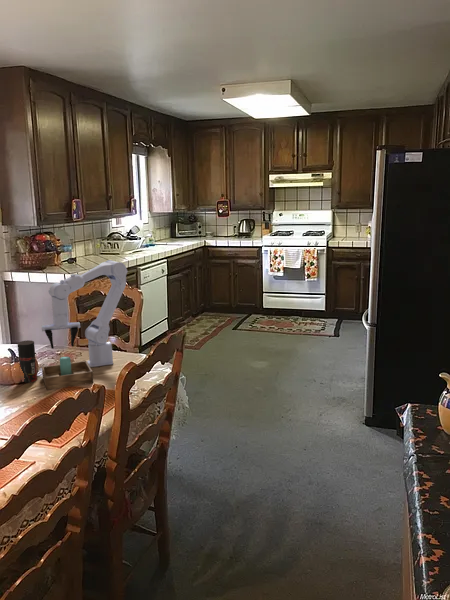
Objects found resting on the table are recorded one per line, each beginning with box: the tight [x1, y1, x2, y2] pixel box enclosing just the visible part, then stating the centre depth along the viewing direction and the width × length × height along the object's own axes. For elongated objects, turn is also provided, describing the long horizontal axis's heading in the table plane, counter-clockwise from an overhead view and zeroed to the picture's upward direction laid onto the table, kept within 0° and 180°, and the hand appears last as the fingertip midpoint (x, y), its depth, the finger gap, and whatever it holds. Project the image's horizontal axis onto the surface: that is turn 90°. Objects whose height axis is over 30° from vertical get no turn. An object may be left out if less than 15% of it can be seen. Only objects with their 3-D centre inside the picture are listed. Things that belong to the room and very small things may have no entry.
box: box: [41, 360, 94, 391], centre depth 201 cm, size 17×14×4 cm
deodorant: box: [17, 339, 38, 384], centre depth 201 cm, size 6×6×15 cm
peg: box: [59, 356, 72, 376], centre depth 203 cm, size 4×4×8 cm
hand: (62, 346), depth 209 cm, fingers open, 7 cm apart
